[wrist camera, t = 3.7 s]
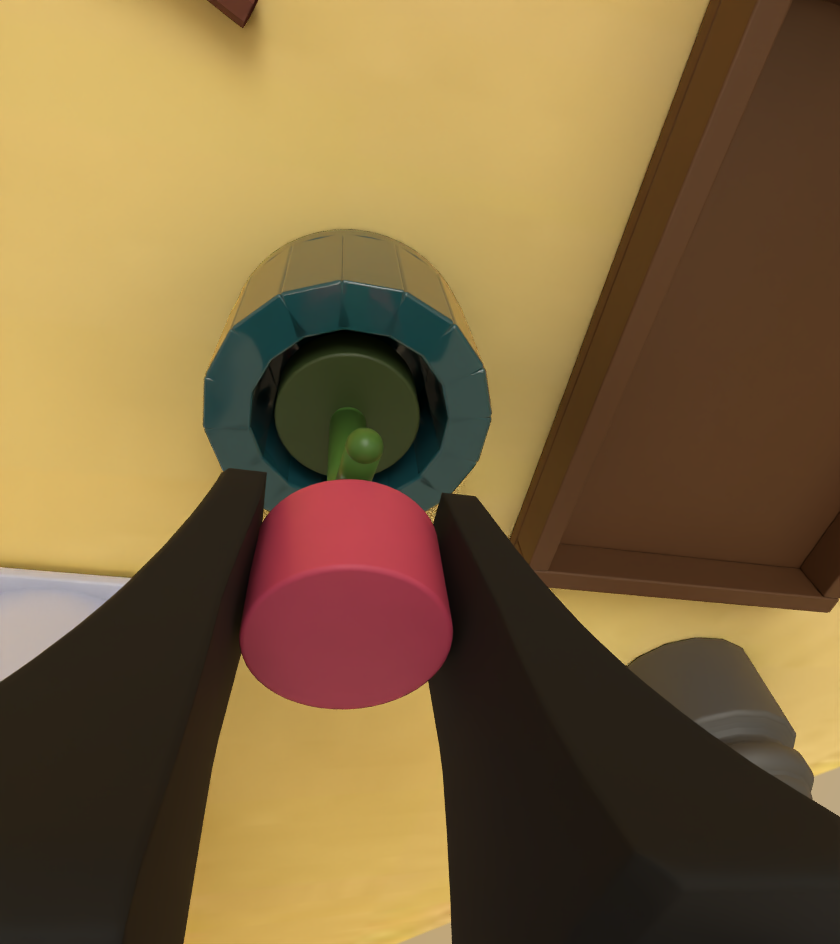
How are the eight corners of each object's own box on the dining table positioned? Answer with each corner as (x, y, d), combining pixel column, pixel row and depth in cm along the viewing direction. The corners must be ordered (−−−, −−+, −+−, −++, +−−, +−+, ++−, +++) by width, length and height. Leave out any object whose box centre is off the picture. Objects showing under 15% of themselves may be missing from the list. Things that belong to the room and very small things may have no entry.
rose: (401, 459, 16) (433, 720, 10) (273, 443, 16) (225, 710, 10) (433, 323, 14) (496, 545, 8) (287, 299, 14) (238, 519, 8)
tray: (796, 573, 24) (829, 613, 22) (507, 544, 22) (520, 586, 20) (1161, 66, 15) (1260, 71, 14) (734, -68, 13) (790, -82, 11)
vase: (436, 457, 20) (453, 544, 16) (226, 430, 18) (199, 518, 15) (490, 254, 16) (526, 312, 13) (237, 205, 15) (206, 256, 12)
